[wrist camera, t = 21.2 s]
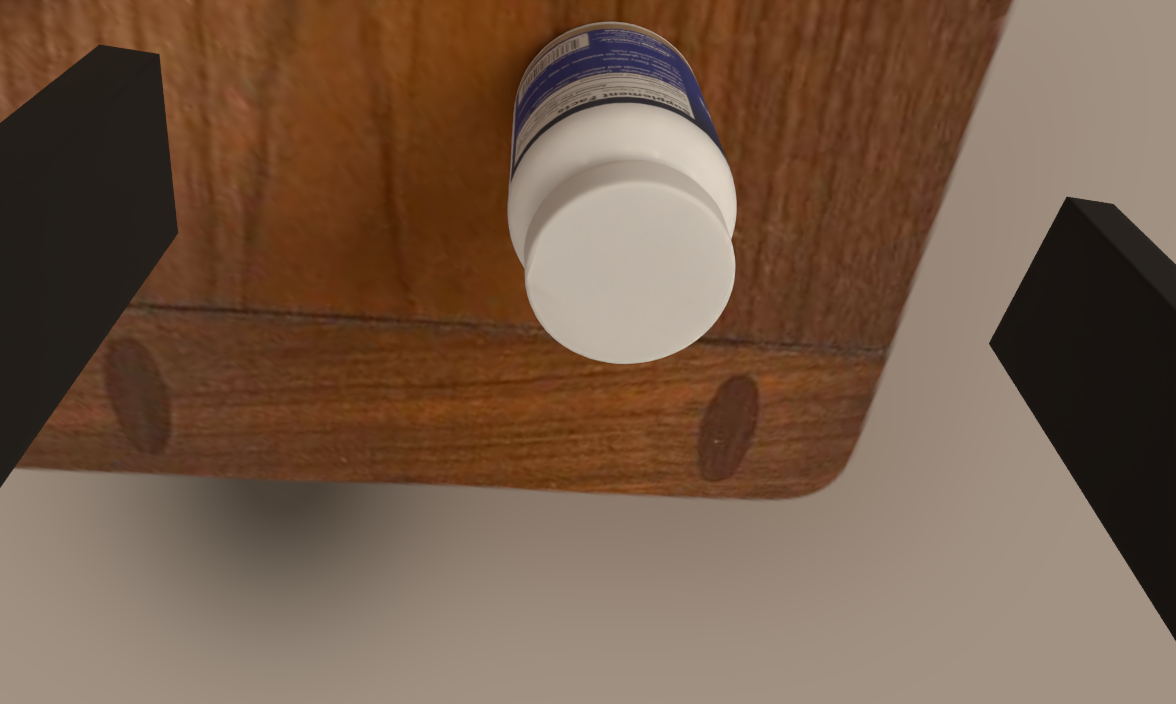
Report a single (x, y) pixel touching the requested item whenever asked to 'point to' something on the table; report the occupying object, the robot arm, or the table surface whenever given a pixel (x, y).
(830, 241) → the table surface
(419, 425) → the table surface
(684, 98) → the pill bottle
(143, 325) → the table surface
